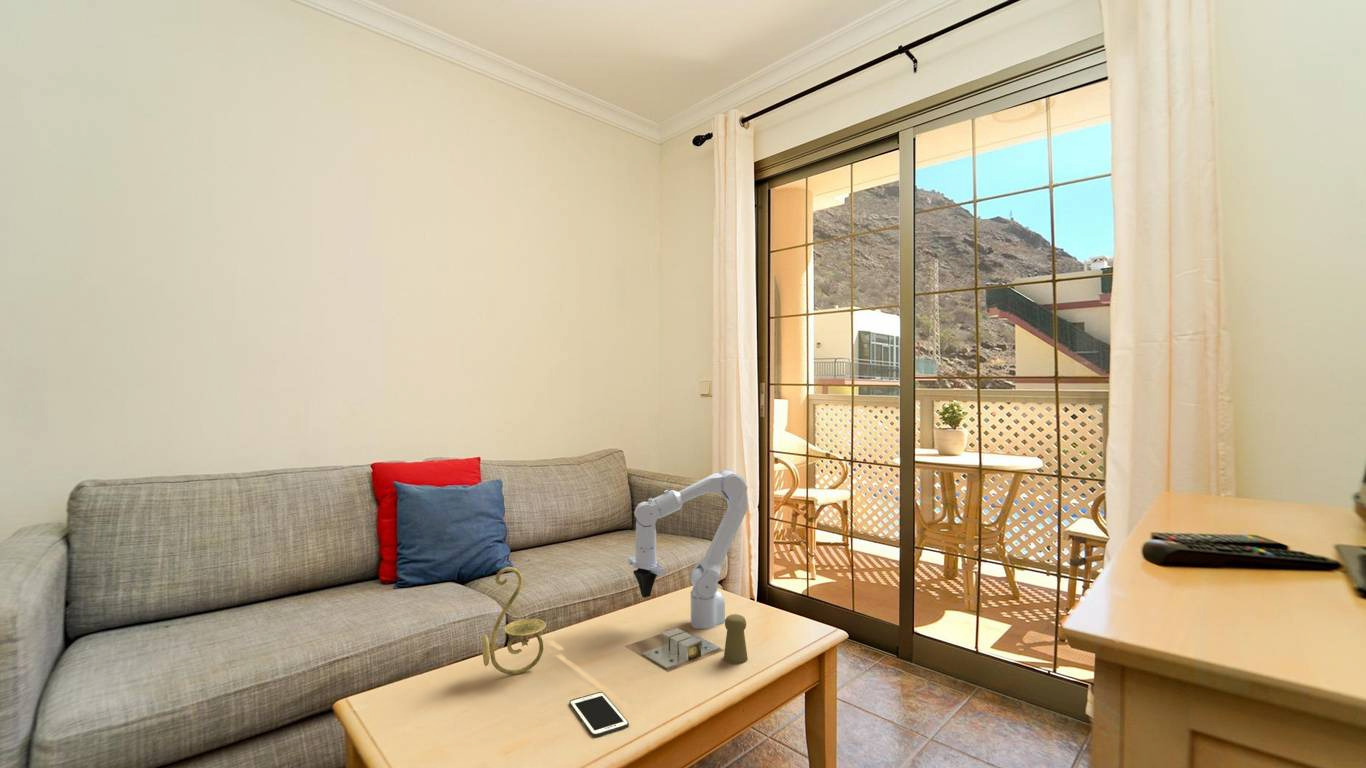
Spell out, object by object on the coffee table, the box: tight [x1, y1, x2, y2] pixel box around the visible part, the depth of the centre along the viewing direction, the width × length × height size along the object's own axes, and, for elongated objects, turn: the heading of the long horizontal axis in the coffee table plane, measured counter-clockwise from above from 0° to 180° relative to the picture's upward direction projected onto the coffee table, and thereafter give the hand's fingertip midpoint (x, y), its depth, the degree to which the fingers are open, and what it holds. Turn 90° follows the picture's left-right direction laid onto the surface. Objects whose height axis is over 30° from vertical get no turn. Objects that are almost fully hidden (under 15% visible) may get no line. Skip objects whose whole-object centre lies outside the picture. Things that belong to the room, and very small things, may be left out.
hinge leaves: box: [642, 627, 721, 669], centre depth 146 cm, size 17×10×4 cm, turn 129°
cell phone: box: [568, 691, 630, 739], centre depth 119 cm, size 8×15×1 cm, turn 30°
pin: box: [688, 646, 698, 659], centre depth 146 cm, size 10×3×3 cm, turn 39°
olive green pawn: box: [723, 613, 748, 665], centre depth 142 cm, size 6×6×11 cm
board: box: [624, 627, 725, 673], centre depth 148 cm, size 18×18×1 cm
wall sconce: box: [481, 566, 547, 676], centre depth 136 cm, size 14×10×25 cm
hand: (646, 596), depth 161 cm, fingers closed
